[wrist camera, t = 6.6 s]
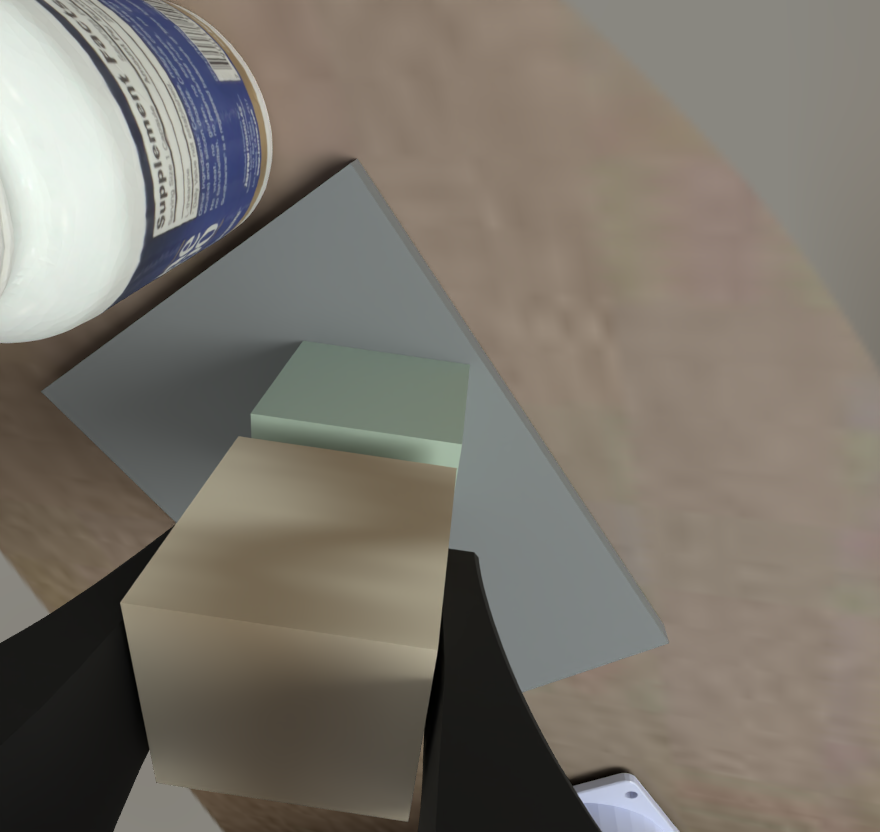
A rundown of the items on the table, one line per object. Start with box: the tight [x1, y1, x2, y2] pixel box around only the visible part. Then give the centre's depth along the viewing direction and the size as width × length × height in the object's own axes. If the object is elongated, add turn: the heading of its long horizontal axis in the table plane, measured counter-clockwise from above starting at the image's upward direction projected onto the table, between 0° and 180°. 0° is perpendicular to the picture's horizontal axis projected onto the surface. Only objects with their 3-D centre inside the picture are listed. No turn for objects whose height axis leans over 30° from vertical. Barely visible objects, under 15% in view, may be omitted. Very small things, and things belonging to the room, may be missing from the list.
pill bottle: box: [0, 0, 272, 343], centre depth 11 cm, size 5×5×10 cm
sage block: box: [251, 341, 470, 491], centre depth 16 cm, size 4×4×4 cm
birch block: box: [120, 436, 457, 822], centre depth 11 cm, size 4×4×4 cm
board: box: [41, 159, 669, 692], centre depth 20 cm, size 18×12×1 cm, turn 33°
